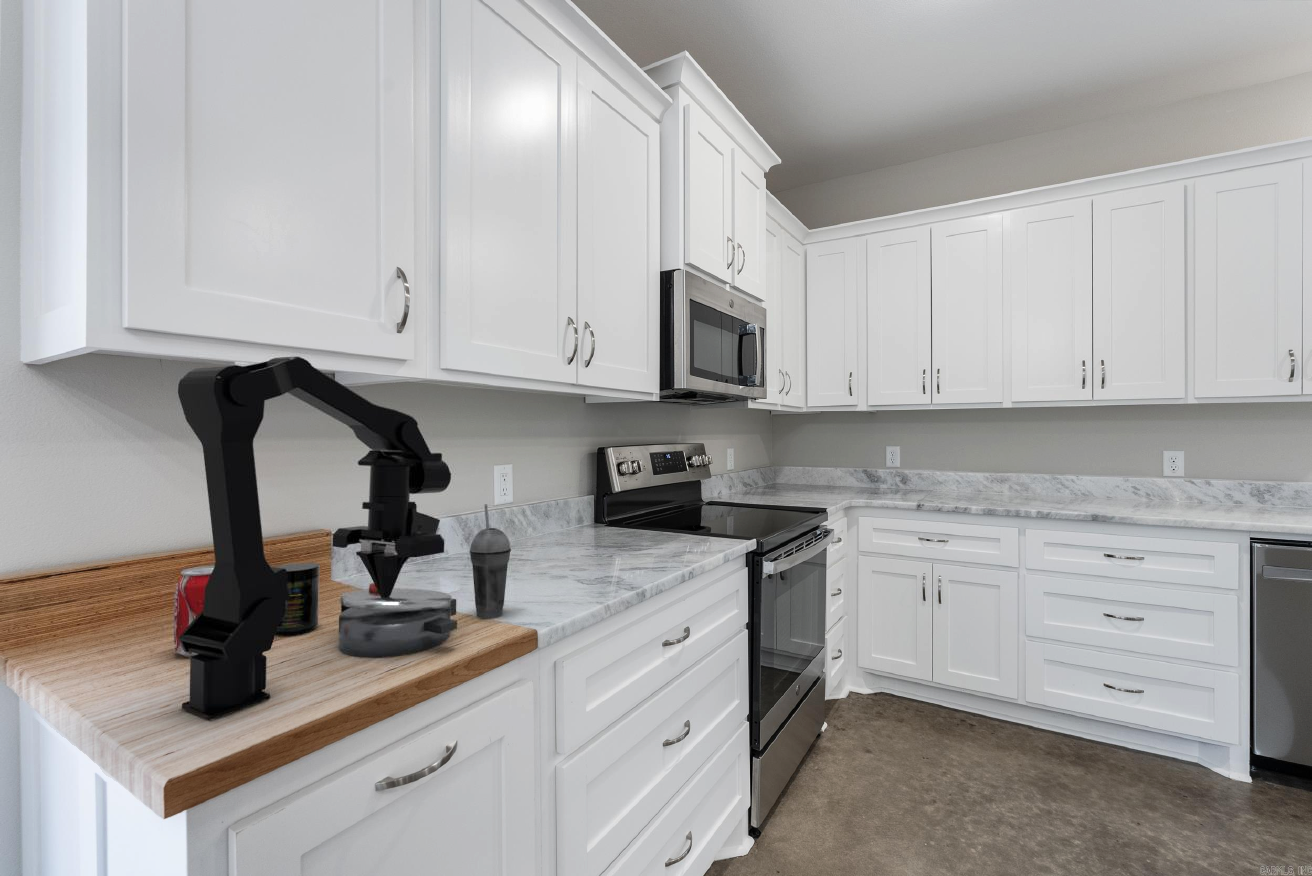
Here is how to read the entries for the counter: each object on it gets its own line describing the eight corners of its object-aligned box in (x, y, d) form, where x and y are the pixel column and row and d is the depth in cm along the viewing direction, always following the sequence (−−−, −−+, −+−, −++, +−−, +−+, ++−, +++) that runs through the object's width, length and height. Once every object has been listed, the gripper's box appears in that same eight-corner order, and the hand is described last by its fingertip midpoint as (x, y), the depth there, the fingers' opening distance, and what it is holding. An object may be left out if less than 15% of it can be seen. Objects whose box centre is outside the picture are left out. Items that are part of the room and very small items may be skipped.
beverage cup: (519, 613, 107) (520, 503, 107) (487, 623, 101) (489, 506, 101) (491, 606, 111) (492, 500, 111) (459, 616, 104) (461, 503, 105)
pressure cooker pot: (403, 669, 80) (404, 636, 80) (301, 642, 90) (301, 612, 90) (495, 632, 96) (496, 604, 96) (399, 612, 106) (400, 587, 106)
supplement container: (322, 631, 96) (323, 567, 96) (273, 640, 91) (274, 573, 91) (314, 621, 101) (315, 560, 101) (267, 629, 96) (268, 565, 96)
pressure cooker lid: (388, 615, 82) (390, 599, 82) (316, 600, 89) (318, 585, 89) (472, 603, 96) (473, 589, 96) (404, 591, 103) (405, 578, 103)
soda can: (201, 661, 82) (202, 575, 82) (160, 657, 83) (161, 573, 84) (246, 644, 89) (247, 565, 89) (207, 641, 90) (208, 563, 90)
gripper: (472, 496, 94) (469, 594, 93) (392, 490, 102) (389, 581, 102) (415, 499, 84) (411, 609, 83) (332, 493, 92) (327, 593, 92)
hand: (385, 597), depth 90 cm, fingers closed, pressing on pressure cooker lid
